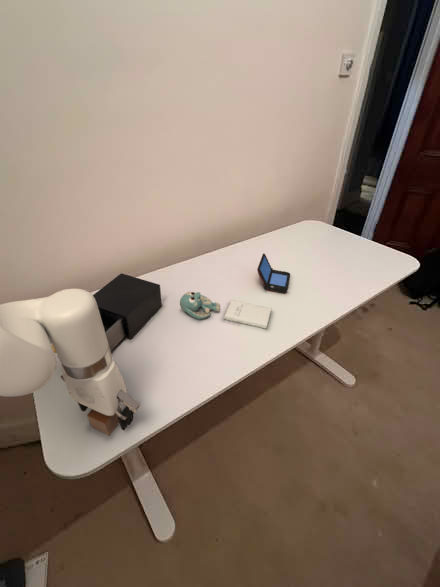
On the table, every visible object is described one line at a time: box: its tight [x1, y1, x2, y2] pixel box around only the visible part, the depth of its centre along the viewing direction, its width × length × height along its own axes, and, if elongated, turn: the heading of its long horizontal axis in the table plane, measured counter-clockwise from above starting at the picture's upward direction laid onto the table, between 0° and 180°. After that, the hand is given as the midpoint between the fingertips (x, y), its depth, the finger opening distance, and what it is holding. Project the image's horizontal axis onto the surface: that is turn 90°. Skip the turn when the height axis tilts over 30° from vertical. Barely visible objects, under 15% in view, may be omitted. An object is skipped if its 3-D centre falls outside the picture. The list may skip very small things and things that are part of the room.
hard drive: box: [224, 300, 272, 330], centre depth 90 cm, size 2×8×12 cm
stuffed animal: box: [179, 291, 221, 320], centre depth 90 cm, size 11×7×12 cm
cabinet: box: [92, 272, 163, 340], centre depth 86 cm, size 16×14×8 cm
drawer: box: [51, 310, 128, 355], centre depth 76 cm, size 20×12×6 cm, turn 157°
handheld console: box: [257, 252, 291, 294], centre depth 103 cm, size 12×11×7 cm
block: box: [86, 405, 122, 437], centre depth 61 cm, size 4×4×4 cm
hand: (107, 414), depth 61 cm, fingers open, 9 cm apart
